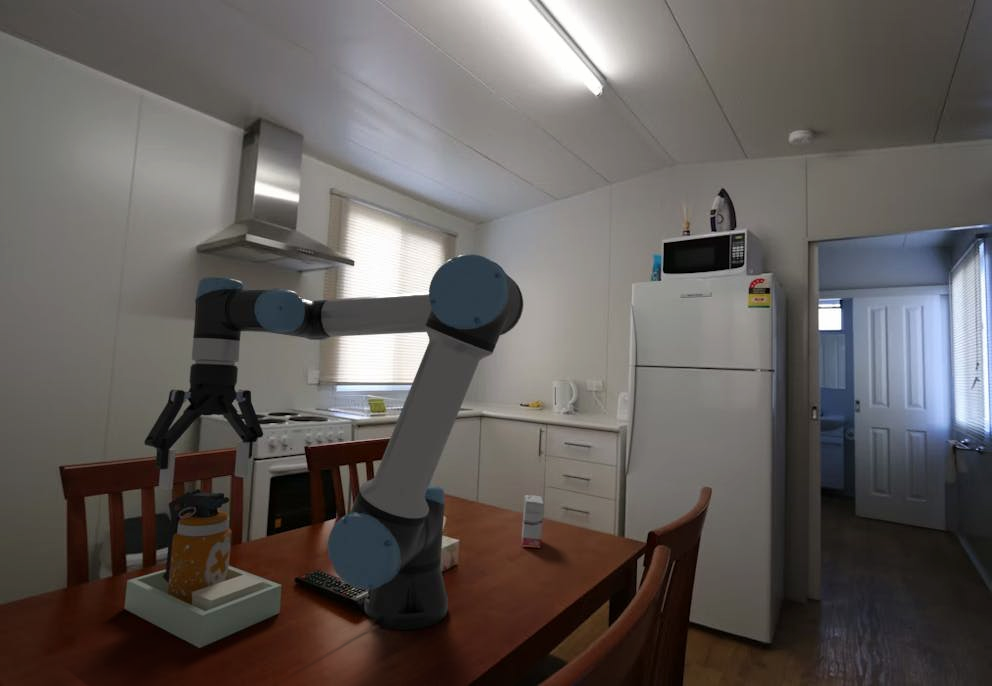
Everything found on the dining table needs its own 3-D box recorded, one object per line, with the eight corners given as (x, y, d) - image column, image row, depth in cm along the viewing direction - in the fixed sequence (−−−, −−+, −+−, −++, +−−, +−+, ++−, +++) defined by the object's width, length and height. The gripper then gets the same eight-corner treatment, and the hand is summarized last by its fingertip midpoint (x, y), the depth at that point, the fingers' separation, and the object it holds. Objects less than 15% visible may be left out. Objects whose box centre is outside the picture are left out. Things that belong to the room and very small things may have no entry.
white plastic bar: (260, 615, 87) (262, 581, 88) (207, 637, 79) (211, 600, 80) (241, 607, 90) (244, 574, 90) (188, 627, 82) (191, 592, 82)
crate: (279, 617, 88) (281, 585, 89) (199, 653, 76) (202, 615, 77) (204, 586, 99) (207, 557, 99) (123, 613, 87) (127, 580, 87)
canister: (199, 623, 83) (210, 499, 85) (142, 613, 86) (153, 493, 87) (236, 600, 92) (246, 488, 94) (183, 592, 94) (193, 483, 96)
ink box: (541, 549, 132) (544, 502, 133) (522, 548, 132) (524, 501, 133) (539, 538, 140) (541, 495, 141) (521, 537, 140) (523, 494, 141)
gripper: (262, 366, 105) (255, 470, 103) (127, 359, 83) (115, 491, 82) (286, 366, 101) (279, 474, 100) (152, 359, 79) (140, 497, 78)
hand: (205, 482), depth 91 cm, fingers open, 13 cm apart
